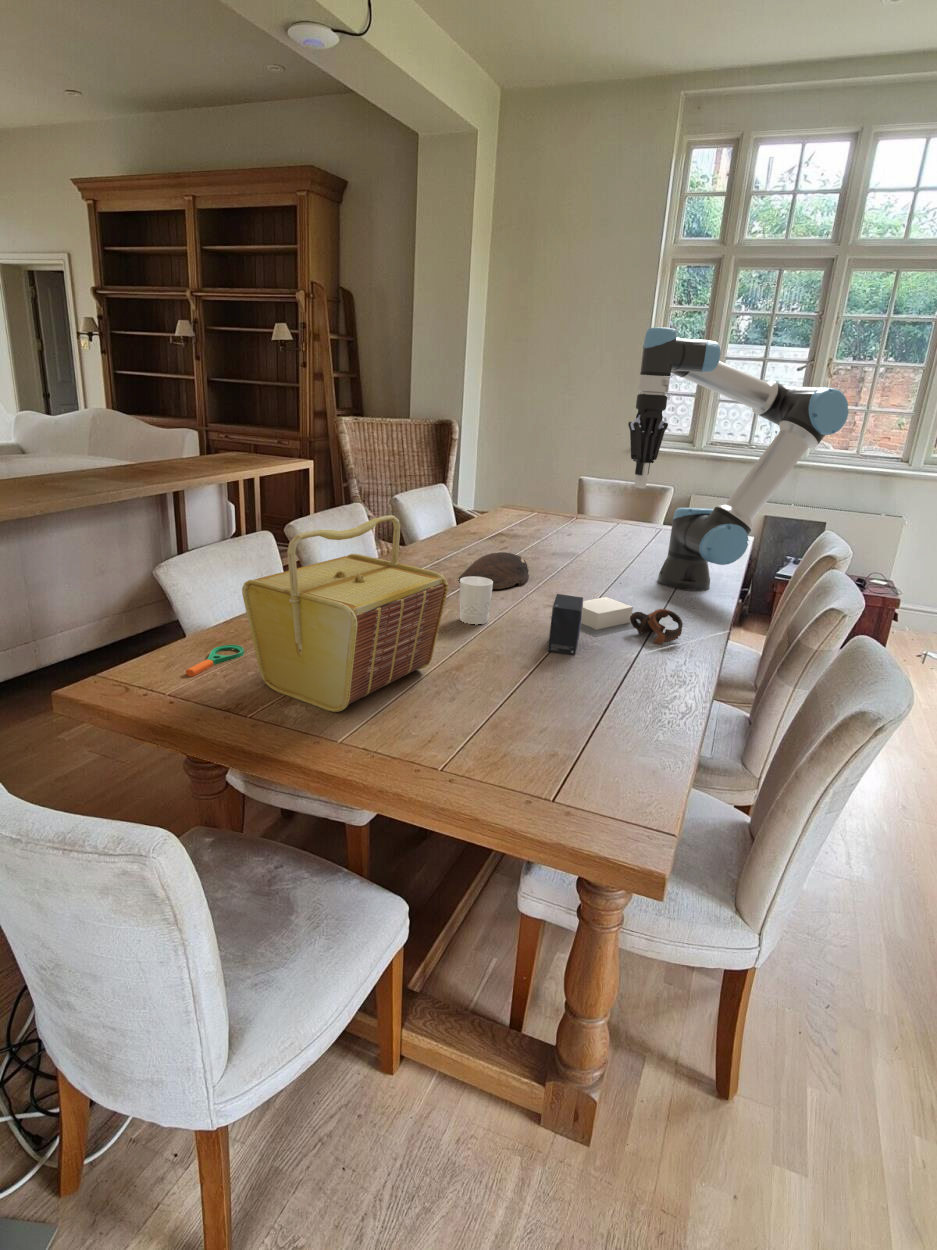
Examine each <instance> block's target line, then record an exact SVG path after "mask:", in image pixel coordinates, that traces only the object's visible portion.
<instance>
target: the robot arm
mask: <svg viewBox="0 0 937 1250" xmlns="http://www.w3.org/2000/svg"><path fill="white" fill-rule="evenodd" d="M677 332H678V331H677V329H676V328H671V327H658V326H657V327H650V328H647V330H646V332H645V336H644V339H643V340H644V341H643V346H642V355H641V367H640V372H639V373H640V375H639V380H638V386H637V391H638V392H639V393H637V395H636V401H635V402H636V403H635V408H636V409H637V414H636V416H635V419H634V420H633V421H629V422H628V428H629V433H630V434H629V435H630V459H631V460H633V462H635V471H634V473H635V479H634V486H633V487H634V488H636V489H637V488H638V489H647V481H648V475H649V474H650V467H651V464H653V463H655V461H656V460H657V458H658V457H659V456H658V455H659V452H660V450H661V445H662V442H663V438H664V436H665V432H666V430H667V428H668V427H669V423H668V422H665V421H664V420H663V419H664V417H663V412H664V411H666V410H667V403H668V395H666V394H668V393H669V388H670V381H671V377H672V376H671V374H673V375H676V376H678V377H680V378H682V379H685V380H688V381H690V382H692V383H694V384H697V385H699V386H700V387H703V388H705V389H708V390H711V391H713V393H714V392H715V393H717V394H719V395H722V396H724V397H726V398H728V399H729V400H730V399H731V400H732V401H735V402H737V403H740V404H742V405H744V406H746V407H749V408H751V409H752V412H753V413H754V414H755V415H757V416H759V417H762V418H764V419H765V420H768V421H769V422H772V423H773V424H775V425H777V426H779V432H778V433H777V435H776V436H775V438H774V439H773V440H772V441H771V442H770V444H769V446H767V448H766V449H765V451H764V452H763V453H762V455H761V456H759V458H758V460H757V461H756V462H755V464H754V465H753V466H752V468H751V469H750V470H749V472H747V474H746V475H745V477H744V478H743V480H742V481H741V482H740V484H739V485H738V486H737V487H736V488H735V490H734V491H733V492H732V494H731V495H730V496H729V498H728V499H727V501H726V502H725V503H724V504H719V505H716V506H715V507H714V508H707V507H706V508H705V507H677V508H676V509H675V510H674V514H673V517H672V519H671V521H672V525H671V530H670V538H669V545H668V551H667V556H666V559H665V560H664V562H663V565H662V566H661V569H660V571H659V572H658V577H657V582H658V583H659V584H661V585H662V586H665V587H669V588H672V589H678V590H683V591H704V590H708V589H709V588H710V585H711V577H710V568H709V563H712V564H715V565H720V566H725V565H730V564H733V563H735V562H737V561H739V559H741V558H742V557H743V556H744V554H745V553H746V551H747V549H748V546H749V542H748V541H749V534H750V533H751V532H752V530H753V528H752V522H753V520H754V519H755V518H756V516H757V515H758V513H759V512H760V511H761V510H762V508H763V507H764V506H765V504H766V503H767V502H768V501H769V499H771V496H772V495H773V494H774V493H775V492H776V491H777V489H778V488H779V486H780V485H781V484H782V483H783V481H784V480H785V479H786V477H787V476H788V475H789V473H790V472H791V471H792V470H793V468H794V467H795V466H796V464H797V463H798V462H799V461H800V459H801V458H802V456H804V454H805V453H806V452H807V450H808V449H811V448H812V449H813V448H817V446H818V445H819V444H820V443H821V441H822V440H823V439H824V438H825V436H829V435H830V436H831V435H833V434H836V433H838V432H839V431H841V429H843V427H844V426H845V424H846V422H847V419H848V416H849V411H850V409H849V402H848V399H847V397H846V395H845V394H844V393H843V392H842V391H841V390H839V389H837V388H833V387H828V386H820V387H818V386H816V387H814V386H797V385H788V384H782V383H779V382H778V381H777V382H776V381H775V380H768V381H765V380H762V379H761V378H758V377H756V376H755V375H754V376H753V375H752V374H749V373H747V372H745V371H742V370H741V369H738V368H737V367H734V366H732V365H730V364H727V363H725V362H723V361H720V360H721V354H722V351H721V346H720V344H719V343H718V342H717V341H714V340H708V339H697V338H696V339H695V338H692V339H691V338H682V337H678V333H677Z"/></svg>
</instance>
